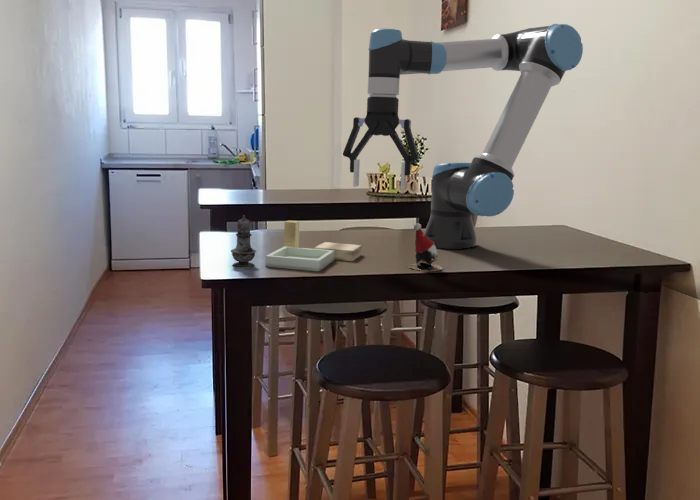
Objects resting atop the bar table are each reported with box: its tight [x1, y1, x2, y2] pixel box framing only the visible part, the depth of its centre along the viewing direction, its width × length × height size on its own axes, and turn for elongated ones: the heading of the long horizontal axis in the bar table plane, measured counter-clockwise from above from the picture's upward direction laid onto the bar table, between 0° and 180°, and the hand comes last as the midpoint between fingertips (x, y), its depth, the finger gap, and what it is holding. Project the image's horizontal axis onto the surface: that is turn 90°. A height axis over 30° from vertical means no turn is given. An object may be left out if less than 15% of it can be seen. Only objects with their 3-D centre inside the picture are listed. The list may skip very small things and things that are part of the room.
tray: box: [265, 245, 335, 272], centre depth 169 cm, size 13×13×2 cm
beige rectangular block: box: [314, 241, 362, 262], centre depth 179 cm, size 10×8×3 cm
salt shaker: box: [230, 214, 257, 269], centre depth 164 cm, size 6×6×12 cm
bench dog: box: [283, 220, 300, 248], centre depth 182 cm, size 3×3×8 cm
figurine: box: [407, 222, 443, 273], centre depth 168 cm, size 8×10×12 cm
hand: (379, 187), depth 174 cm, fingers open, 11 cm apart
